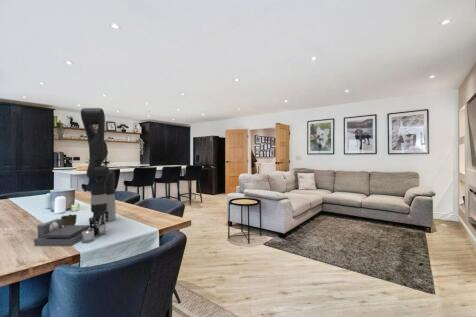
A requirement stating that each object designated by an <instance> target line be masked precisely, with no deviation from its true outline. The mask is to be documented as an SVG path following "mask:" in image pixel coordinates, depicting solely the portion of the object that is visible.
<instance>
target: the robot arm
mask: <svg viewBox="0 0 476 317" xmlns="http://www.w3.org/2000/svg"><path fill="white" fill-rule="evenodd" d="M80 118H81V121H82V125H83V127H84V131H85V133H86V137H87V143H88V153H89V154H88V155H89V163H88V166H87V169H86V176H87V178H88V179H90V180H95V182H94V183H92V184H91V185H90V194H91V195H90V212H91V213H93V215H92V217H89V218H88V221H89V225H90V228H89V229H93V236H95V235H99V228H98V227H99V224H105V225H107V223H109V222H113V221H115V220H116V218H117V215H116V214H117V213H116V212H117V211H116V210H117V209H116V192H115V190H116V187H115V186H116V171H115V170H114V169H110V168H109V167H108V166H107V165H105V164H104V165H103V163H104V161H105V160H106V158H107V156H108V154H109V151H108V146H107V143H106V141H105V132H106V129H105V128H106V115H105V112H104V109H103V108H101V107H84V108H81V110H80ZM93 126H97V131H96V130H95V129H94V128H93ZM107 184H108V185H107ZM96 225H97V226H96Z"/></svg>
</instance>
